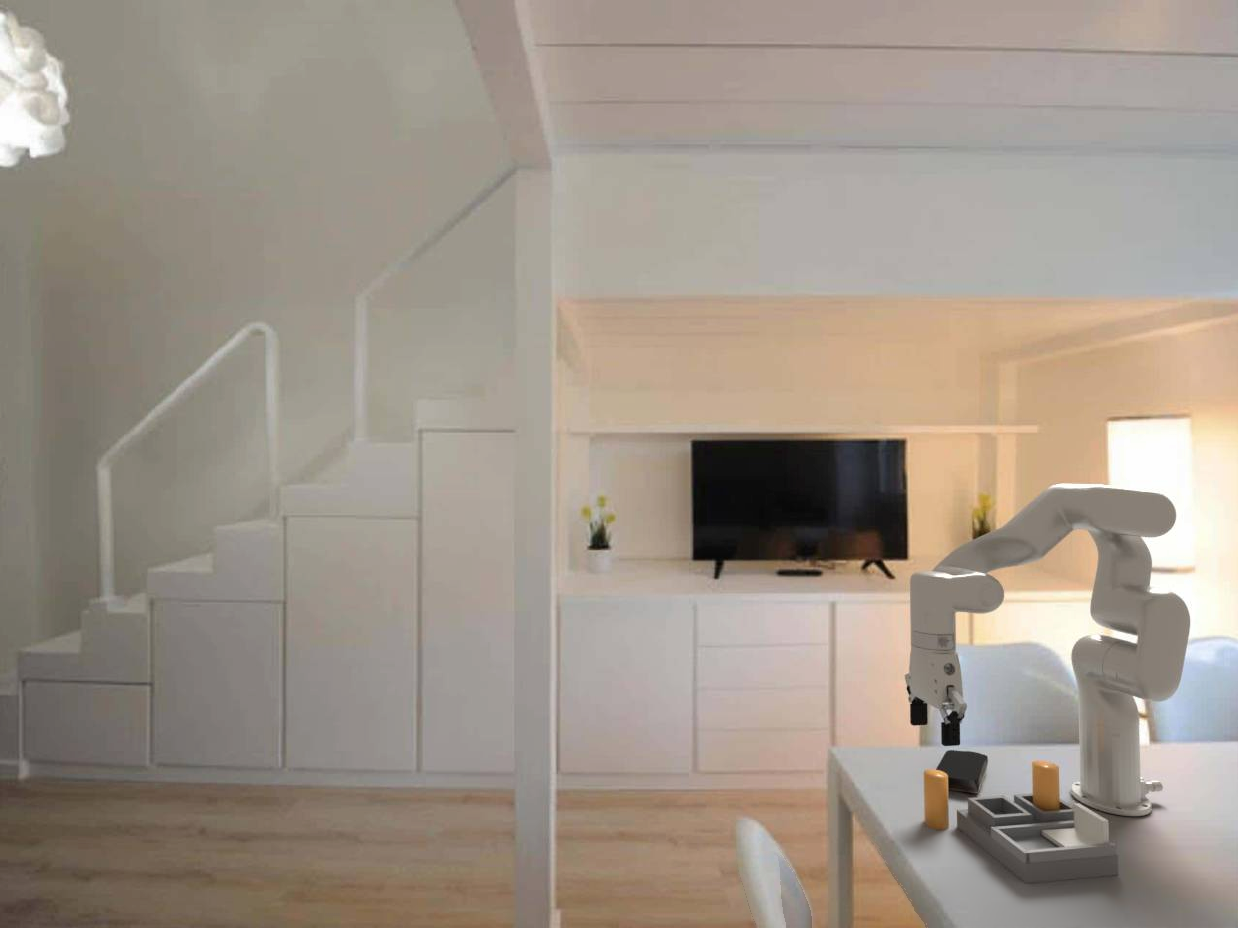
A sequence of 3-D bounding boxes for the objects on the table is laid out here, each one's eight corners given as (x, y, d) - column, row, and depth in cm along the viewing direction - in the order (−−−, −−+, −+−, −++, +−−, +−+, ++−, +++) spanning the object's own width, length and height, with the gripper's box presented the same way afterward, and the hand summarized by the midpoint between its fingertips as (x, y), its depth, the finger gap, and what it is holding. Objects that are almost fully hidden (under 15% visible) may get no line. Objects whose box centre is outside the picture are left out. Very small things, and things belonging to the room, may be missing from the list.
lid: (1079, 831, 113) (1079, 803, 113) (1109, 850, 107) (1108, 820, 107) (1041, 834, 112) (1041, 806, 112) (1069, 853, 106) (1068, 823, 106)
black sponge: (978, 800, 131) (978, 781, 131) (931, 789, 136) (931, 771, 136) (989, 771, 144) (989, 753, 144) (946, 761, 149) (946, 744, 149)
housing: (1045, 819, 123) (1044, 753, 123) (1126, 873, 106) (1125, 797, 107) (957, 826, 121) (955, 759, 121) (1025, 883, 104) (1024, 805, 104)
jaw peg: (940, 817, 124) (939, 768, 124) (953, 828, 120) (952, 778, 121) (920, 819, 124) (919, 769, 124) (932, 830, 120) (932, 779, 120)
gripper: (983, 651, 115) (984, 752, 114) (924, 628, 132) (925, 716, 131) (942, 653, 114) (943, 755, 113) (888, 630, 131) (889, 718, 130)
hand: (934, 734), depth 122 cm, fingers open, 9 cm apart
